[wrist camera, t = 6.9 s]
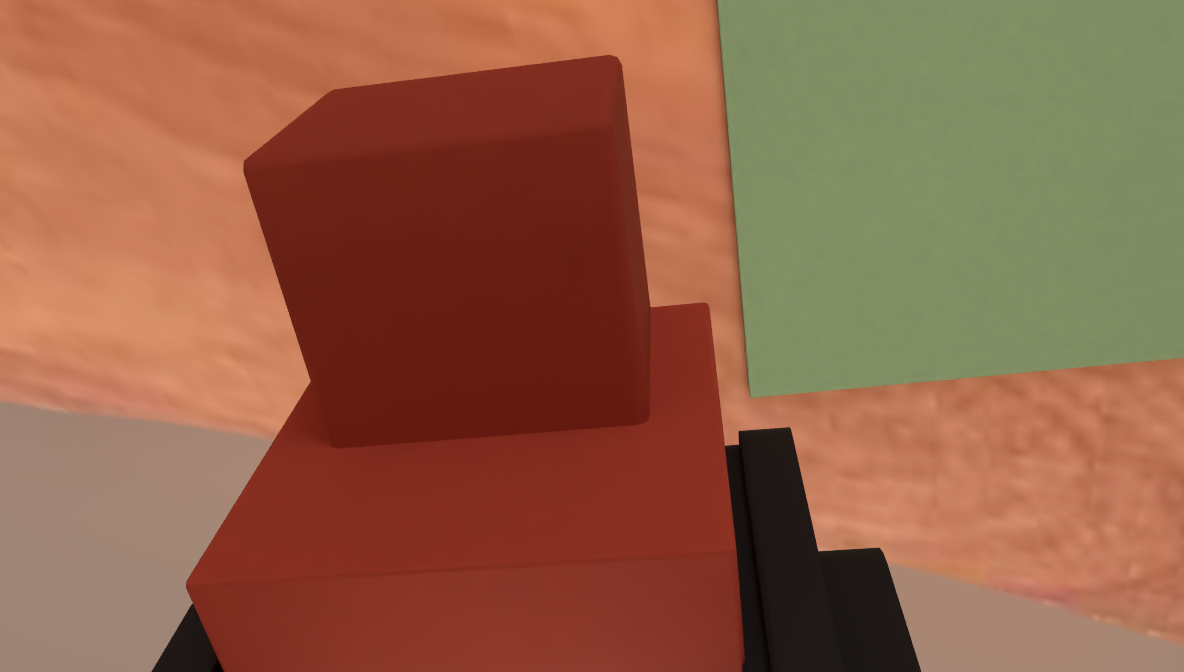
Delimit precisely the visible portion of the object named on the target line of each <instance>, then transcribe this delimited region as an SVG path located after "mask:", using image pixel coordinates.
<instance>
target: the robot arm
mask: <svg viewBox="0 0 1184 672" xmlns="http://www.w3.org/2000/svg"><path fill="white" fill-rule="evenodd" d="M725 452H726V461H727V470H728V479H729V488H730V497H731V506H732V515H733V524H734V533H735V542H736V550H737V563H738V575H739V588H740V600H741V613H742V625H743V637H744V650H745V662H744V664H742V668H743V672H921V669H920V666H919V663H918V660H917V657H916V653H915V650H914V647H913V644H912V641H911V637H910V634H909V631H908V628H907V625H906V621H905V618H904V615H903V612H902V609H901V606H900V602H899V599H898V596H897V593H896V590H895V587H894V583H893V580H892V577H891V574H890V571H889V567H888V564H887V561H886V559H885V556H884V554H883V552H882V551H881V549H880V548H866V549H850V550H834V551H818V548H817V544H816V539H815V535H814V530H813V526H812V521H811V517H810V512H809V508H808V503H807V499H806V494H805V490H804V485H803V481H802V476H801V472H800V467H799V463H798V458H797V454H796V449H795V445H794V440H793V436H792V432H791V429H790V427H787V428H774V429H761V430H747V431H739V445H729V446H725ZM152 672H224V671H223V669H222V666H221V664H220V662H219V660H218V658H217V655H216V653H215V651H214V649H213V646H212V644H211V642H210V640H209V638H208V635H207V633H206V631H205V629H204V626H203V624H202V622H201V620H200V618H199V615H198V613H197V611H196V609H195V606H194V604H192V605H191V607H190V608H189V610H188V612H187V614H186V615H185V617H184V618H183V620H182V622H181V623H180V625H179V627H178V628H177V630H176V632H175V633H174V635H173V637H172V638H171V640H170V642H169V643H168V645H167V647H166V648H165V650H164V652H163V653H162V655H161V657H160V658H159V660H158V662H157V663H156V665H155V667H154V668H153V670H152Z"/></svg>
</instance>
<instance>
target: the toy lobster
mask: <svg viewBox="0 0 1184 672" xmlns="http://www.w3.org/2000/svg"><path fill="white" fill-rule="evenodd" d="M244 175H245V178H246V181H247V184H248V187H249V191H250V194H251V197H252V200H253V203H254V206H255V209H256V212H257V215H258V219H259V222H260V225H261V228H262V231H263V234H264V237H265V240H266V243H267V246H268V250H269V253H270V256H271V259H272V262H273V265H274V268H275V271H276V274H277V277H278V281H279V284H280V287H281V290H282V293H283V296H284V299H285V302H286V305H287V308H288V312H289V315H290V318H291V321H292V324H293V327H294V330H295V333H296V336H297V340H298V343H299V346H300V349H301V352H302V355H303V358H304V361H305V364H306V367H307V371H308V374H309V377H310V380H311V382H310V384H309V385H308V387H307V388H306V390H305V392H304V393H303V395H302V397H301V398H300V400H299V401H298V403H297V405H296V406H295V408H294V409H293V411H292V413H291V414H290V416H289V417H288V419H287V421H286V422H285V424H284V425H283V427H282V429H281V430H280V432H279V433H278V435H277V437H276V438H275V440H274V441H273V443H272V445H271V446H270V448H269V450H268V451H267V453H266V454H265V456H264V458H263V459H262V461H261V462H260V464H259V466H258V467H257V469H256V471H255V472H254V474H253V475H252V477H251V479H250V480H249V482H248V483H247V485H246V486H245V488H244V490H243V491H242V493H241V495H240V496H239V498H238V499H237V501H236V503H235V504H234V506H233V507H232V509H231V511H230V512H229V514H228V516H227V517H226V519H225V520H224V522H223V524H222V525H221V527H220V528H219V530H218V532H217V533H216V535H215V537H214V538H213V540H212V541H211V543H210V545H209V546H208V548H207V549H206V551H205V552H204V554H203V556H202V557H201V559H200V561H199V562H198V564H197V565H196V567H195V569H194V570H193V572H192V573H191V575H190V576H189V578H188V580H187V583H186V589H187V591H188V593H189V595H190V598H191V600H192V602H193V604H194V606H195V609H196V611H197V613H198V615H199V618H200V620H201V622H202V624H203V626H204V629H205V631H206V633H207V635H208V638H209V640H210V642H211V644H212V646H213V649H214V651H215V653H216V655H217V658H218V660H219V662H220V664H221V666H222V669H223V671H224V672H743V668H742V664H744V662H745V650H744V637H743V625H742V613H741V600H740V588H739V575H738V563H737V550H736V542H735V533H734V524H733V515H732V506H731V497H730V488H729V479H728V470H727V461H726V452H725V444H724V435H723V426H722V417H721V408H720V399H719V390H718V381H717V372H716V363H715V354H714V346H713V337H712V328H711V319H710V310H709V306H708V304H707V303H693V304H682V305H672V306H661V307H650V301H649V292H648V284H647V275H646V267H645V259H644V250H643V242H642V233H641V225H640V216H639V208H638V199H637V191H636V182H635V174H634V165H633V157H632V148H631V140H630V131H629V123H628V115H627V106H626V98H625V89H624V81H623V72H622V65H621V63H620V61H619V59H618V57H615V56H611V55H606V56H598V57H590V58H582V59H574V60H566V61H558V62H550V63H542V64H534V65H526V66H518V67H510V68H502V69H494V70H486V71H478V72H470V73H462V74H455V75H447V76H439V77H431V78H423V79H415V80H407V81H399V82H391V83H383V84H375V85H367V86H359V87H351V88H343V89H335V90H332V91H330V92H329V93H327V94H326V95H325V96H323V97H322V98H321V99H320V100H319V101H317V102H316V103H315V104H314V105H312V106H311V107H310V108H309V109H307V110H306V111H305V112H304V113H302V114H301V115H300V116H299V117H298V118H296V119H295V120H294V121H293V122H291V123H290V124H289V125H288V126H286V127H285V128H284V129H283V130H281V131H280V132H279V133H278V134H277V135H275V136H274V137H273V138H272V139H270V140H269V141H268V142H267V143H265V144H264V145H263V146H262V147H260V148H259V149H258V150H257V151H256V152H254V153H253V154H252V155H251V156H249V157H248V158H247V159H246V160H244Z"/></svg>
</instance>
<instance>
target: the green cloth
mask: <svg viewBox="0 0 1184 672" xmlns="http://www.w3.org/2000/svg"><path fill="white" fill-rule="evenodd" d="M717 7H718V19H719V31H720V43H721V56H722V68H723V80H724V92H725V104H726V116H727V128H728V140H729V152H730V164H731V176H732V189H733V201H734V213H735V225H736V237H737V249H738V261H739V273H740V285H741V297H742V310H743V322H744V334H745V346H746V358H747V370H748V382H749V394H750V397H751V398H754V397H765V396H776V395H787V394H797V393H808V392H819V391H830V390H841V389H851V388H862V387H873V386H884V385H895V384H905V383H916V382H927V381H938V380H949V379H959V378H970V377H981V376H992V375H1003V374H1013V373H1024V372H1035V371H1046V370H1057V369H1067V368H1078V367H1089V366H1100V365H1111V364H1121V363H1132V362H1143V361H1154V360H1165V359H1175V358H1184V0H717Z"/></svg>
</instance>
